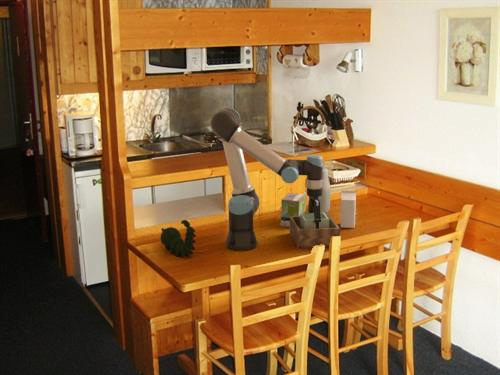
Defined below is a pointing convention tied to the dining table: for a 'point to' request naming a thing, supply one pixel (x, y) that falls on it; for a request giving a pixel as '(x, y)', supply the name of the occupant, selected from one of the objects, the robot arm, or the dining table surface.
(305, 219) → the small green crate
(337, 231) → the walnut crate
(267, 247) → the dining table surface
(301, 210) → the tea box
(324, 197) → the glass bottle
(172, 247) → the toy figurine
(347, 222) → the milk carton
